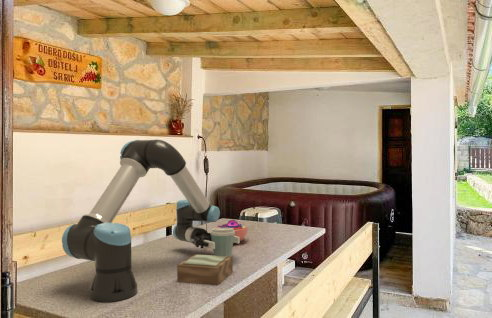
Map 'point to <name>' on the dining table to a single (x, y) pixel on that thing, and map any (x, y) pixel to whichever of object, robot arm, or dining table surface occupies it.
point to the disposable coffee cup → (223, 241)
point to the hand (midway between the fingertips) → (227, 242)
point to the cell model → (236, 228)
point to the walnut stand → (205, 269)
